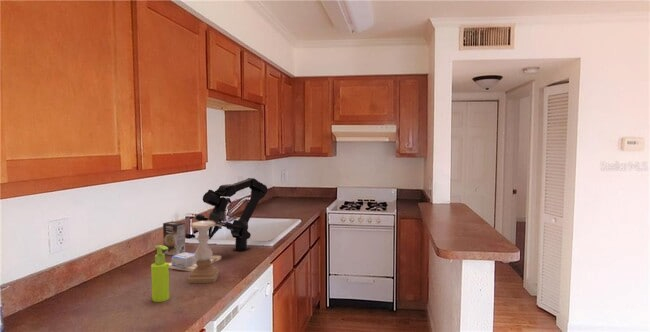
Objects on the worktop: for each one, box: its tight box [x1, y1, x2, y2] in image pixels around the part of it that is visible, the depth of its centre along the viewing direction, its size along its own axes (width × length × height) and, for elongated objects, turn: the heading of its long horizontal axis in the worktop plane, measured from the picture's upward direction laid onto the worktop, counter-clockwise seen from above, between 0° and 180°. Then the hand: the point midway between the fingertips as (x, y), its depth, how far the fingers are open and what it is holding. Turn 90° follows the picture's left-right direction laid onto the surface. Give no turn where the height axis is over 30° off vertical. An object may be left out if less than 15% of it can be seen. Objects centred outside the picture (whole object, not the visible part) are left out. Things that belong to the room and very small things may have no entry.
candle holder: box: [187, 220, 220, 284], centre depth 161 cm, size 11×11×24 cm
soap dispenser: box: [150, 244, 170, 303], centre depth 140 cm, size 6×7×20 cm
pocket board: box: [168, 254, 222, 273], centre depth 182 cm, size 20×16×2 cm
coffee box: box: [162, 220, 186, 256], centre depth 197 cm, size 9×6×16 cm
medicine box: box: [170, 251, 198, 268], centre depth 175 cm, size 8×4×9 cm
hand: (209, 239), depth 187 cm, fingers closed
